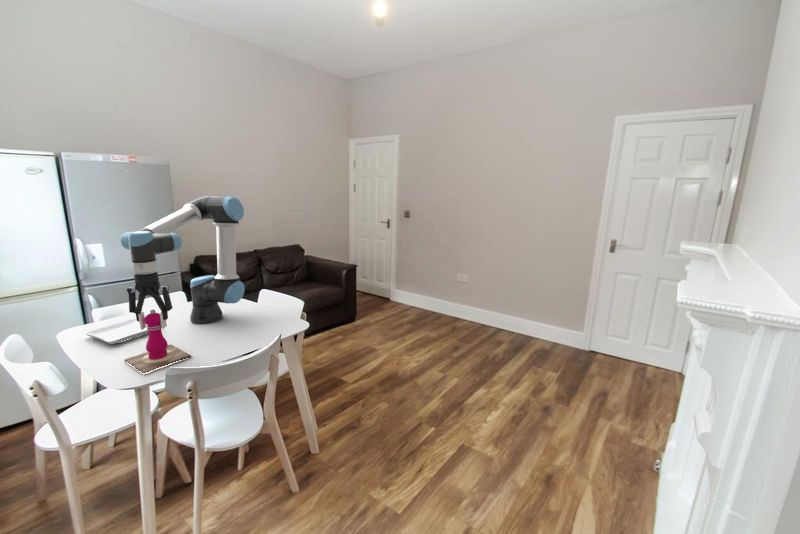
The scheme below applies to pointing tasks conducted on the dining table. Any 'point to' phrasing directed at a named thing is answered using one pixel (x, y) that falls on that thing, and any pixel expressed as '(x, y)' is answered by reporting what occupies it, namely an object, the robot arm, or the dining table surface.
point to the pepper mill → (155, 337)
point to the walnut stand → (148, 364)
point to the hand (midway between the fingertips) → (153, 327)
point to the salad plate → (111, 327)
